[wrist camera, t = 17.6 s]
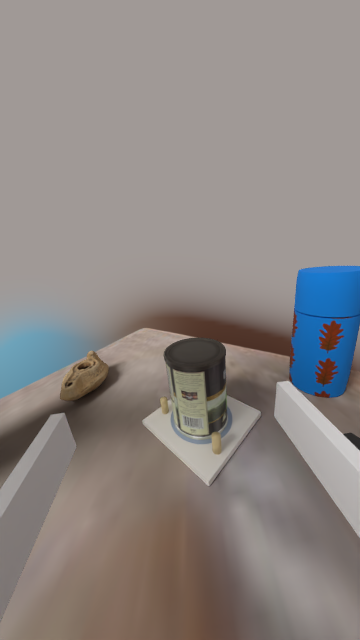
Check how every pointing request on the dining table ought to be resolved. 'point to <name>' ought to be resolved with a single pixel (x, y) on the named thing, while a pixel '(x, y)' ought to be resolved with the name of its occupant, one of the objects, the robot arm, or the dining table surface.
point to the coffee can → (197, 386)
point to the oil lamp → (83, 377)
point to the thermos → (325, 329)
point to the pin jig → (207, 453)
